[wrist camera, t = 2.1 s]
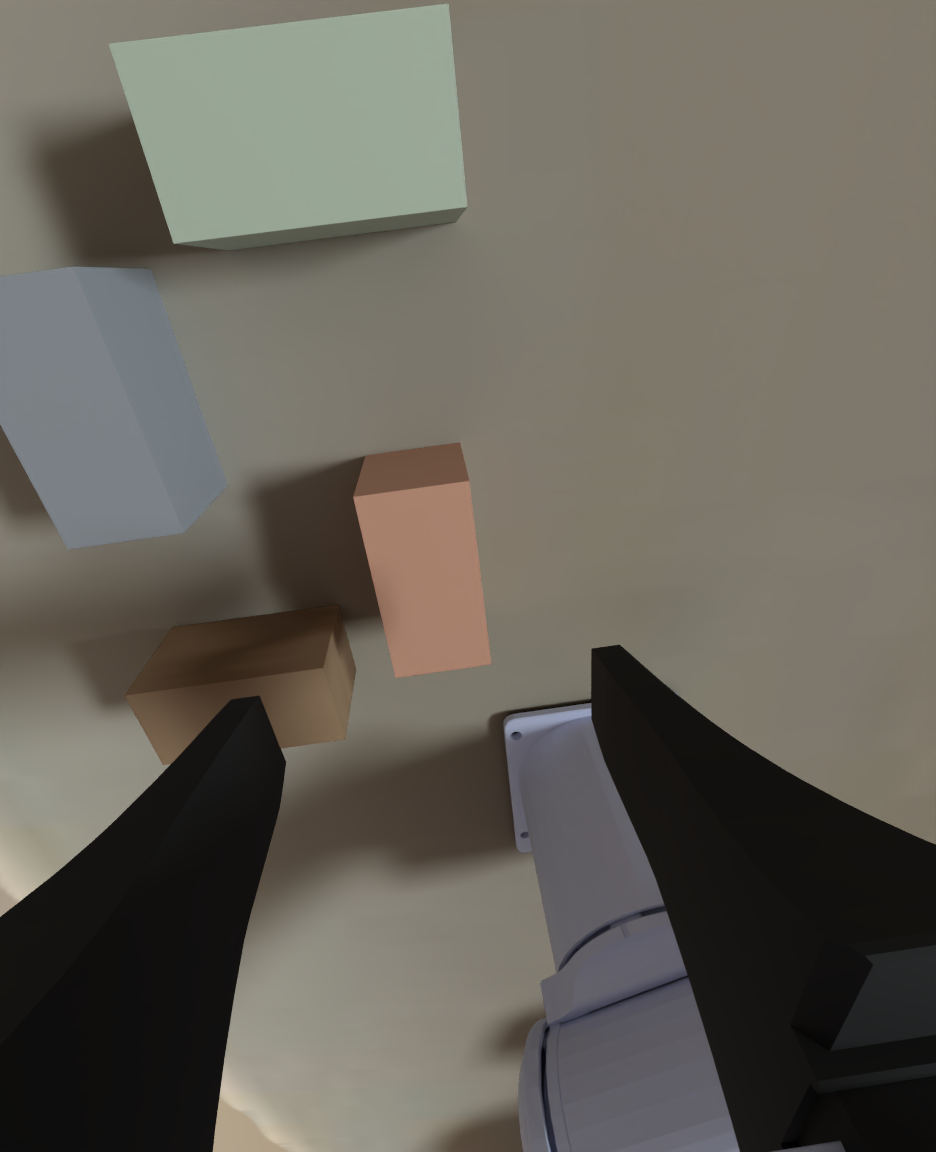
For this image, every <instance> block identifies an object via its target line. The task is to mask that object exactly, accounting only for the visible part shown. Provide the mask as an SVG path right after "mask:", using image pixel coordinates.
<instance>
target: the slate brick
mask: <svg viewBox="0 0 936 1152" xmlns="http://www.w3.org/2000/svg"><path fill="white" fill-rule="evenodd" d="M0 425H1V427H2V429H3V431H4V433H5V435H6V436H7V438H8V440H9V442H10V444H11V446H12V447H13V449H14V451H15V453H16V455H17V457H18V459H19V460H20V462H21V464H22V466H23V468H24V470H25V471H26V473H27V475H28V477H29V479H30V481H31V483H32V484H33V486H34V488H35V490H36V492H37V494H38V495H39V497H40V499H41V501H42V503H43V505H44V507H45V508H46V510H47V512H48V514H49V516H50V518H51V519H52V521H53V523H54V525H55V527H56V529H57V531H58V532H59V534H60V536H61V538H62V540H63V542H64V543H65V545H66V547H67V549H75V548H82V547H89V546H96V545H104V544H111V543H118V542H125V541H132V540H139V539H146V538H153V537H160V536H167V535H174V534H181V533H185V531H186V530H187V529H188V528H189V527H190V526H191V525H192V524H193V523H194V522H195V521H196V519H197V518H198V517H199V516H200V515H201V514H202V513H203V512H204V511H205V510H206V509H207V508H208V506H209V505H210V504H211V503H212V502H213V501H214V500H215V499H216V498H217V497H218V496H219V494H220V493H221V492H222V491H223V490H224V489H225V488H226V487H227V486H228V485H227V482H226V479H225V476H224V473H223V471H222V468H221V465H220V462H219V459H218V457H217V454H216V451H215V448H214V445H213V443H212V440H211V437H210V434H209V431H208V428H207V426H206V423H205V420H204V417H203V414H202V412H201V409H200V406H199V403H198V400H197V398H196V395H195V392H194V389H193V386H192V383H191V381H190V378H189V375H188V372H187V369H186V367H185V364H184V361H183V358H182V355H181V353H180V350H179V347H178V344H177V341H176V338H175V336H174V333H173V330H172V327H171V324H170V322H169V319H168V316H167V313H166V310H165V308H164V305H163V302H162V299H161V296H160V293H159V291H158V288H157V285H156V282H155V279H154V277H153V274H152V271H151V269H140V268H105V267H66V268H59V269H52V270H44V271H37V272H30V273H22V274H15V275H8V276H0Z"/></svg>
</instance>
